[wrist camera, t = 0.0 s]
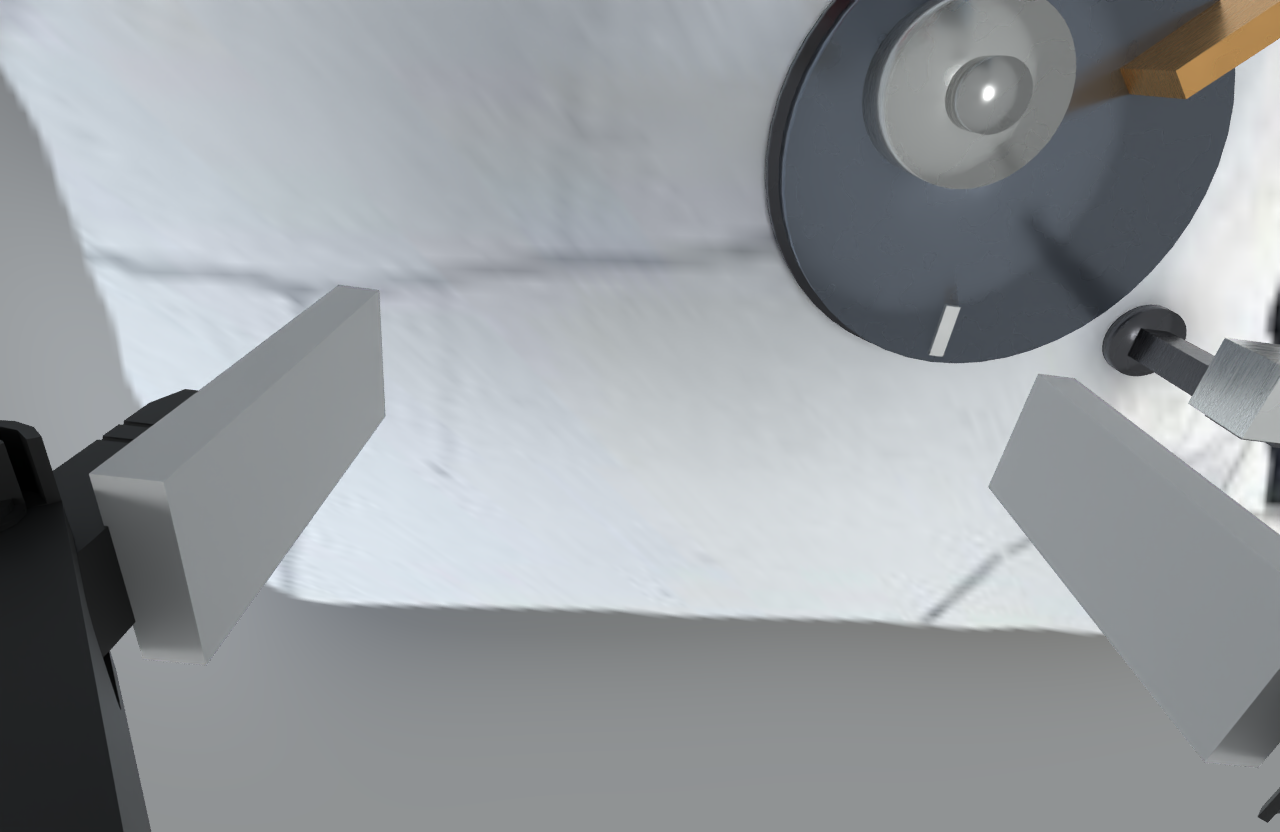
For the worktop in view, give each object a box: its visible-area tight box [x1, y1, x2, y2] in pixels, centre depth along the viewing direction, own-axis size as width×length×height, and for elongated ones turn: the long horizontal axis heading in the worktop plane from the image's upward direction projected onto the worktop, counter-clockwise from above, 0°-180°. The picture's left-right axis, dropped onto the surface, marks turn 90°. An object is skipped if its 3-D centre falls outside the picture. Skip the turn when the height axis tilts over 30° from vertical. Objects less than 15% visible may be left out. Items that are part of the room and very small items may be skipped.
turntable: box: [778, 0, 1280, 363], centre depth 34 cm, size 22×22×6 cm
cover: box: [862, 0, 1076, 189], centre depth 31 cm, size 8×8×6 cm
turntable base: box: [766, 0, 871, 343], centre depth 38 cm, size 23×23×1 cm
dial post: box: [1103, 305, 1280, 448], centre depth 37 cm, size 5×5×13 cm
